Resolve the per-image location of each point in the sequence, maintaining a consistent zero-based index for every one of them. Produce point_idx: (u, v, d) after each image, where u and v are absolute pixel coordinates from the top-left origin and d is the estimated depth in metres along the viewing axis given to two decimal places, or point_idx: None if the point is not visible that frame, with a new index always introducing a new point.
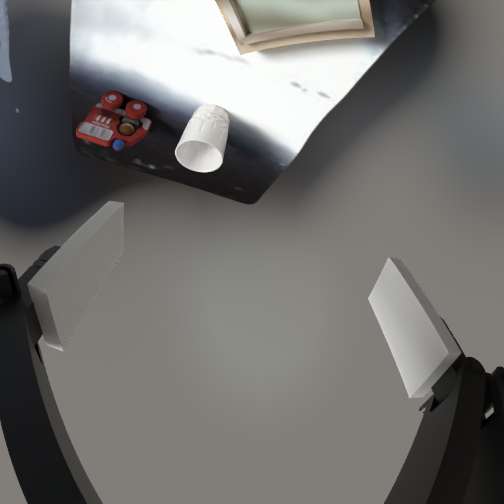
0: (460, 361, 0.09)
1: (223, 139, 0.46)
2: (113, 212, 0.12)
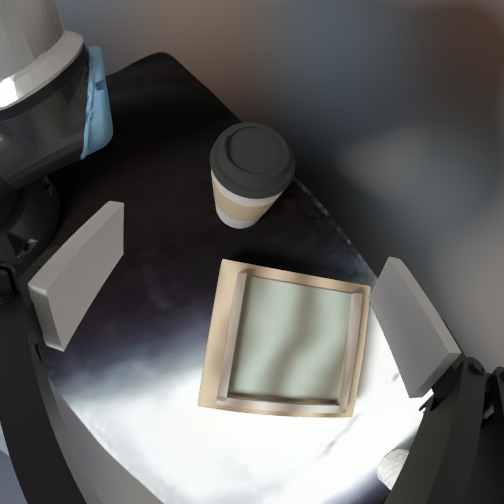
0: (460, 361, 0.09)
1: None
2: (113, 212, 0.12)
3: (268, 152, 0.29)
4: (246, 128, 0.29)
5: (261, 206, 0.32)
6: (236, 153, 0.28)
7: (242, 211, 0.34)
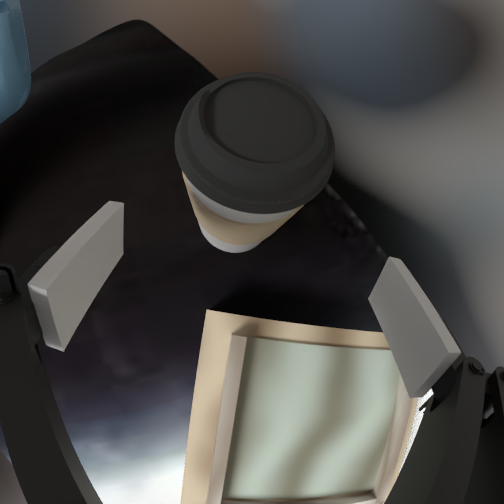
0: (460, 361, 0.09)
1: None
2: (113, 212, 0.12)
3: (286, 122, 0.14)
4: (243, 81, 0.14)
5: (272, 224, 0.18)
6: (223, 123, 0.14)
7: (237, 232, 0.19)
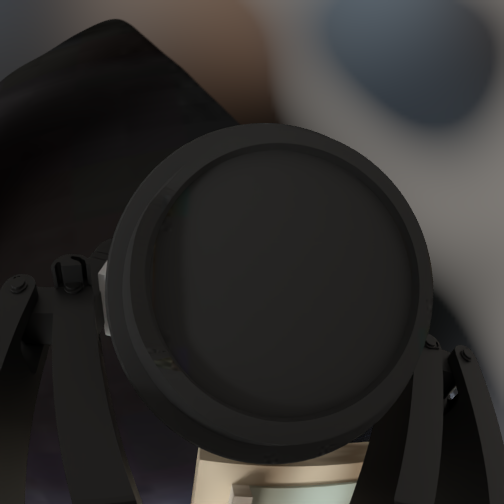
0: None
1: None
2: None
3: (356, 280, 0.06)
4: (253, 153, 0.06)
5: None
6: (203, 300, 0.06)
7: None
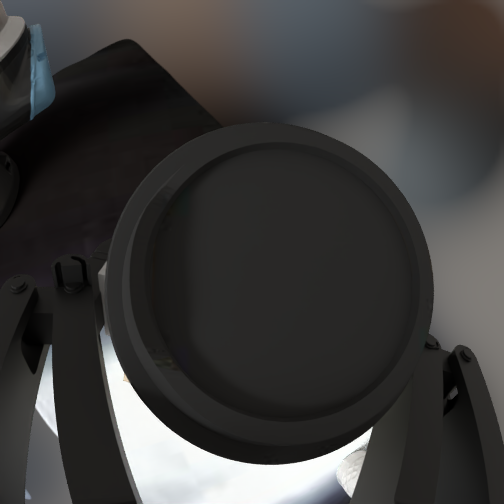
0: None
1: None
2: None
3: (357, 279, 0.06)
4: (253, 152, 0.06)
5: None
6: (203, 300, 0.06)
7: None
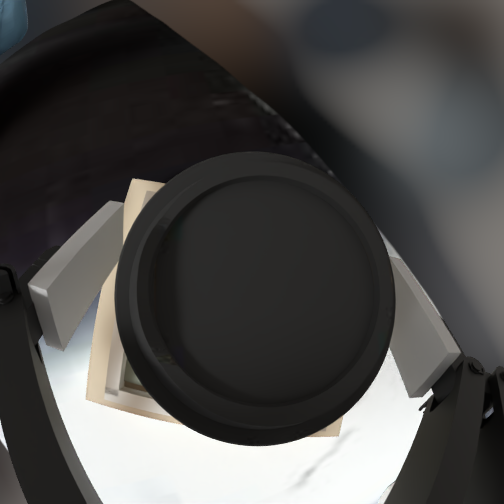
0: (460, 361, 0.09)
1: None
2: (113, 212, 0.12)
3: (322, 291, 0.07)
4: (235, 184, 0.08)
5: None
6: (194, 309, 0.07)
7: None
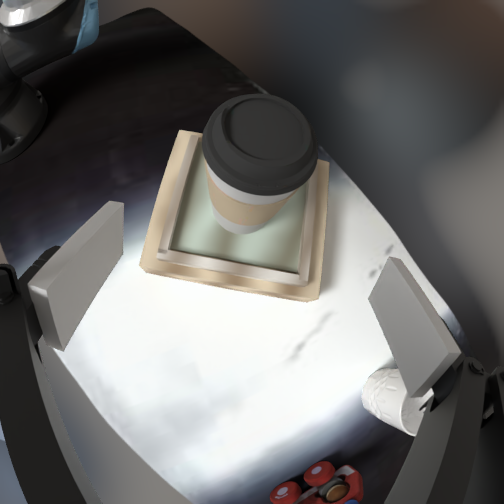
0: (460, 361, 0.09)
1: None
2: (113, 212, 0.12)
3: (282, 131, 0.20)
4: (251, 100, 0.21)
5: (272, 206, 0.24)
6: (238, 132, 0.20)
7: (246, 213, 0.25)
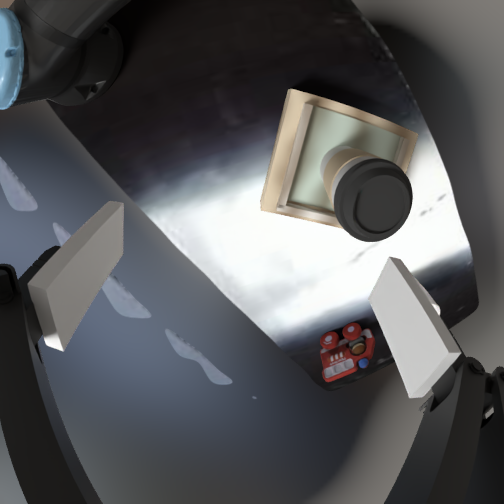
0: (460, 361, 0.09)
1: (425, 293, 0.48)
2: (113, 212, 0.12)
3: (391, 208, 0.28)
4: (377, 179, 0.26)
5: None
6: (362, 209, 0.28)
7: None
